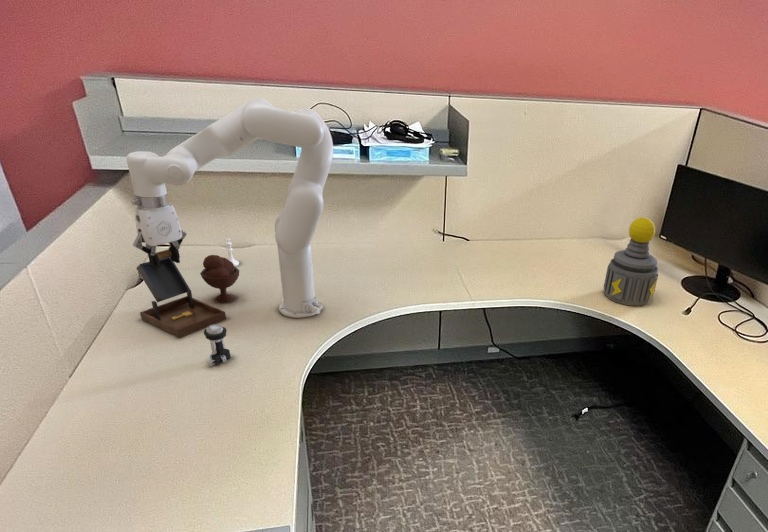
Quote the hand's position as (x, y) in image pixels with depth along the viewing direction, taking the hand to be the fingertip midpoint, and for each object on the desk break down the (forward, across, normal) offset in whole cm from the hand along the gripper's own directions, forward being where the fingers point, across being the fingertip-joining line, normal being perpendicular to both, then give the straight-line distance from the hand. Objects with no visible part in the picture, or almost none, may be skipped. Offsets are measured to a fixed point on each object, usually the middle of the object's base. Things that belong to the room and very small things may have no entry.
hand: (165, 263), depth 160 cm
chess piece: (+17, +36, +22) cm, 45 cm away
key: (+16, 0, -2) cm, 16 cm away
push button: (+17, -9, -30) cm, 36 cm away
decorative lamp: (+16, +111, -104) cm, 152 cm away
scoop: (+6, 0, +4) cm, 7 cm away
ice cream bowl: (+17, +16, 0) cm, 23 cm away
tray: (+17, 0, -3) cm, 17 cm away
